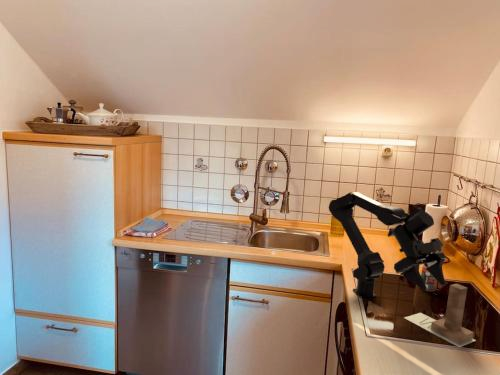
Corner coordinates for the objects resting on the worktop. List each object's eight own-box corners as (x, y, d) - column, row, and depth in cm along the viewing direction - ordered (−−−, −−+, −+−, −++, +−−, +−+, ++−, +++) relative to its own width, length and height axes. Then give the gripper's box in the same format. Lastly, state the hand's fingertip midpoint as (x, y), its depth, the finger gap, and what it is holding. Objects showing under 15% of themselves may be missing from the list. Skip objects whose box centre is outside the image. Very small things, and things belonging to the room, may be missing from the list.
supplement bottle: (428, 293, 145) (432, 264, 143) (415, 286, 150) (419, 259, 148) (439, 291, 147) (443, 263, 145) (426, 285, 152) (430, 257, 151)
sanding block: (430, 329, 114) (437, 282, 112) (442, 325, 117) (450, 279, 115) (460, 345, 107) (468, 294, 104) (472, 340, 110) (480, 291, 107)
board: (403, 321, 121) (403, 317, 121) (420, 316, 125) (420, 312, 125) (458, 351, 106) (459, 347, 106) (475, 344, 110) (476, 340, 110)
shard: (368, 304, 133) (369, 299, 133) (391, 309, 130) (392, 304, 130) (365, 317, 123) (366, 312, 122) (391, 323, 120) (391, 318, 120)
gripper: (406, 231, 113) (436, 281, 106) (444, 227, 123) (474, 272, 115) (382, 249, 121) (408, 296, 113) (419, 243, 131) (445, 286, 123)
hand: (435, 287), depth 116 cm, fingers open, 9 cm apart
